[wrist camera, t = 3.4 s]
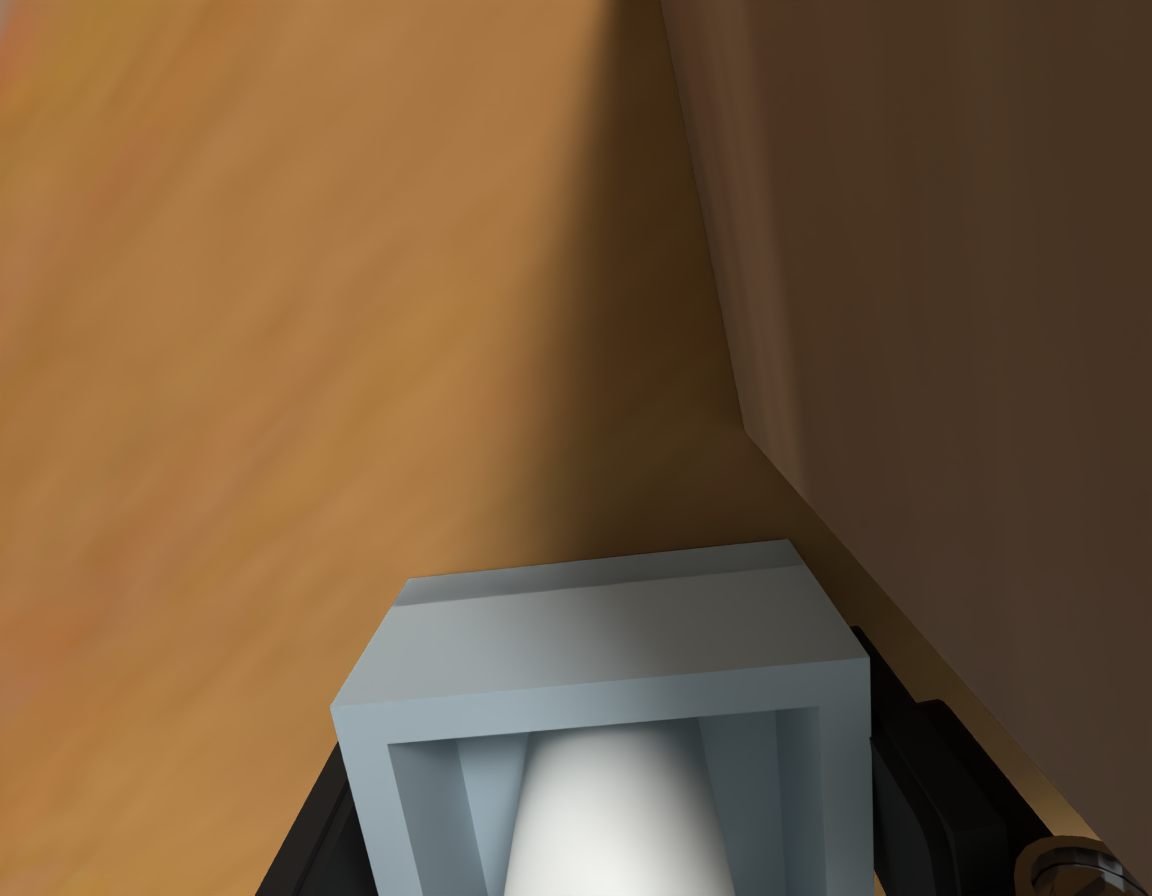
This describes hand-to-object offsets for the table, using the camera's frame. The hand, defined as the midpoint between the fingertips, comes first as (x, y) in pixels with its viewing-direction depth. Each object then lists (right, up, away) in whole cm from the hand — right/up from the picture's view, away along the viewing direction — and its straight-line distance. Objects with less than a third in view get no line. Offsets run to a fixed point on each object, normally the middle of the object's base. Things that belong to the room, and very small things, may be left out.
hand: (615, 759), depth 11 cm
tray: (0, -2, +2) cm, 2 cm away
